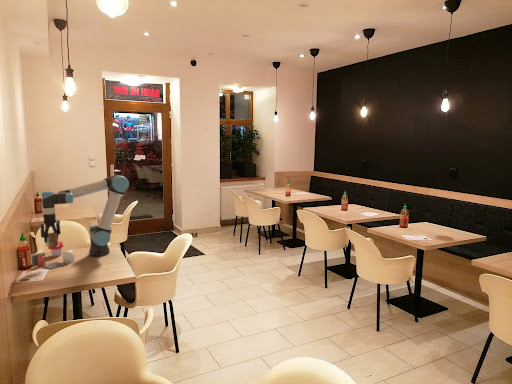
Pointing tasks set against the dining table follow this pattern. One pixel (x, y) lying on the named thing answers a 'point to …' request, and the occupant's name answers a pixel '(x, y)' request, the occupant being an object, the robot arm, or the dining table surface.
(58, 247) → the mushroom
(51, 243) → the walnut block
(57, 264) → the slate coaster
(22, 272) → the dining table surface
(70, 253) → the beige rounded block
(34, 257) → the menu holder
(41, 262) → the sauce shaker
